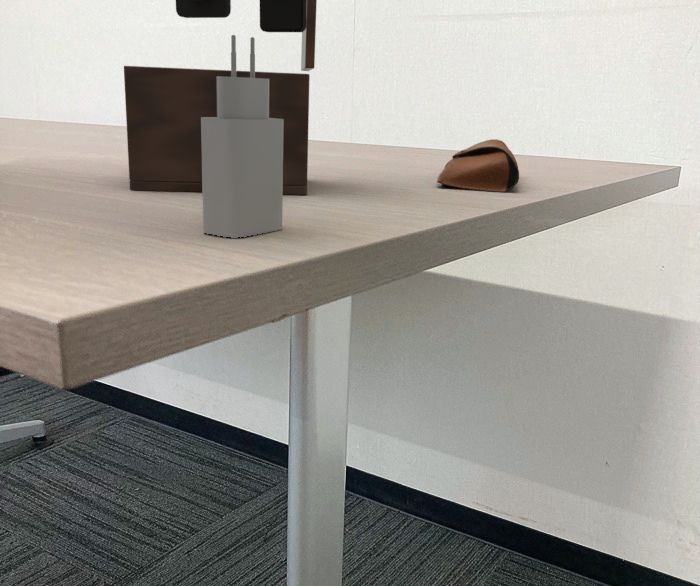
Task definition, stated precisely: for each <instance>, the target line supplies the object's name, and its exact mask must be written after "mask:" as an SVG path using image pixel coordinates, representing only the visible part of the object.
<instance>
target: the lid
mask: <svg viewBox="0 0 700 586" xmlns="http://www.w3.org/2000/svg"><path fill="white" fill-rule="evenodd" d="M317 1H318V0H307V11H306V29H305V31H303V32H301V53H300V54H301V55H300V56H301V57H300V71H301V72H310V71H311V70H313V69H315V65H316V63H315V62H316V55H315V54H316V34H317V33H316V31H317V4H318V3H317Z"/></svg>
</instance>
